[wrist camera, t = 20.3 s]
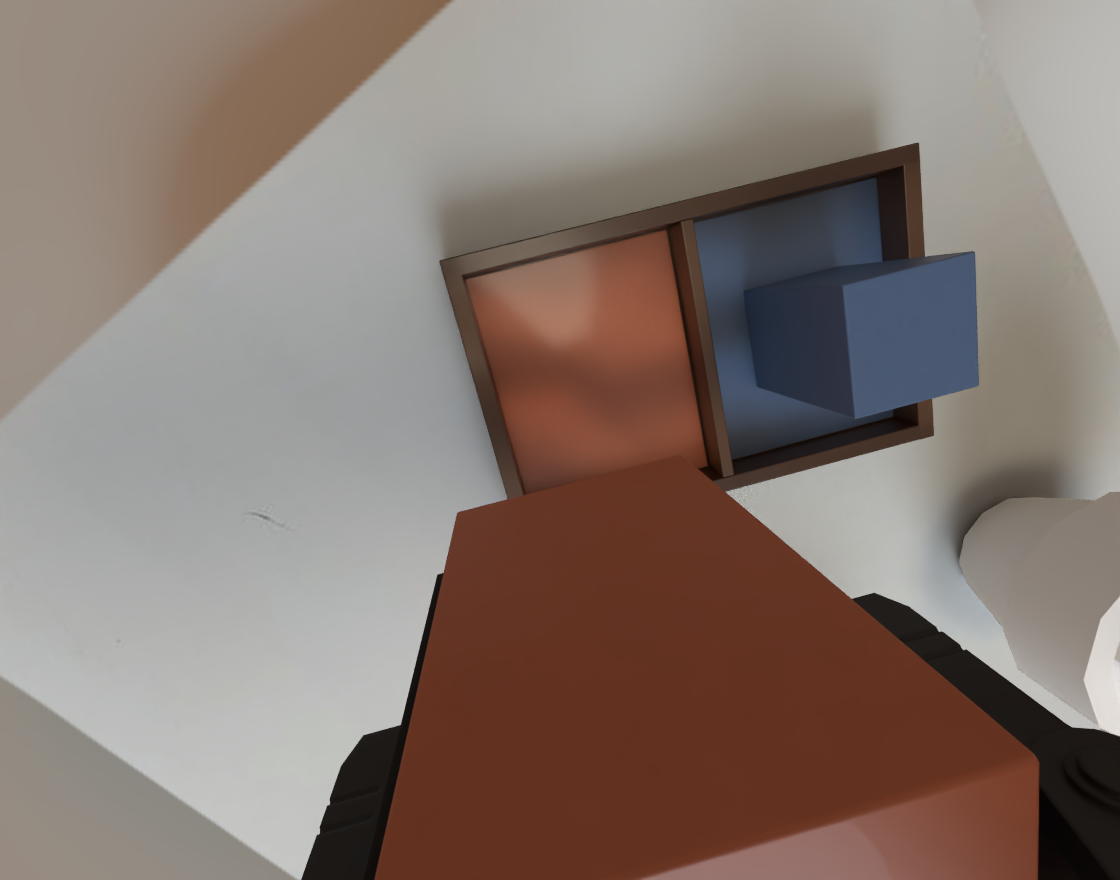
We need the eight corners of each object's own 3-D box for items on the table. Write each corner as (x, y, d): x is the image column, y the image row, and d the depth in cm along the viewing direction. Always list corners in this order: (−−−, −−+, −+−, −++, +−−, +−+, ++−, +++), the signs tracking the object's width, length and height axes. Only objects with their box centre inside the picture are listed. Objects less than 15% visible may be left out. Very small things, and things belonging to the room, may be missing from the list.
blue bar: (742, 290, 26) (842, 284, 19) (838, 266, 26) (975, 250, 19) (756, 387, 28) (855, 419, 20) (847, 363, 28) (979, 386, 20)
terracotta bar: (456, 511, 11) (353, 957, 4) (681, 453, 11) (1044, 757, 4) (515, 701, 13) (532, 1324, 5) (716, 646, 13) (1036, 1163, 5)
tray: (445, 264, 25) (438, 260, 23) (879, 157, 26) (919, 142, 24) (519, 526, 29) (521, 547, 26) (898, 424, 30) (934, 435, 27)
